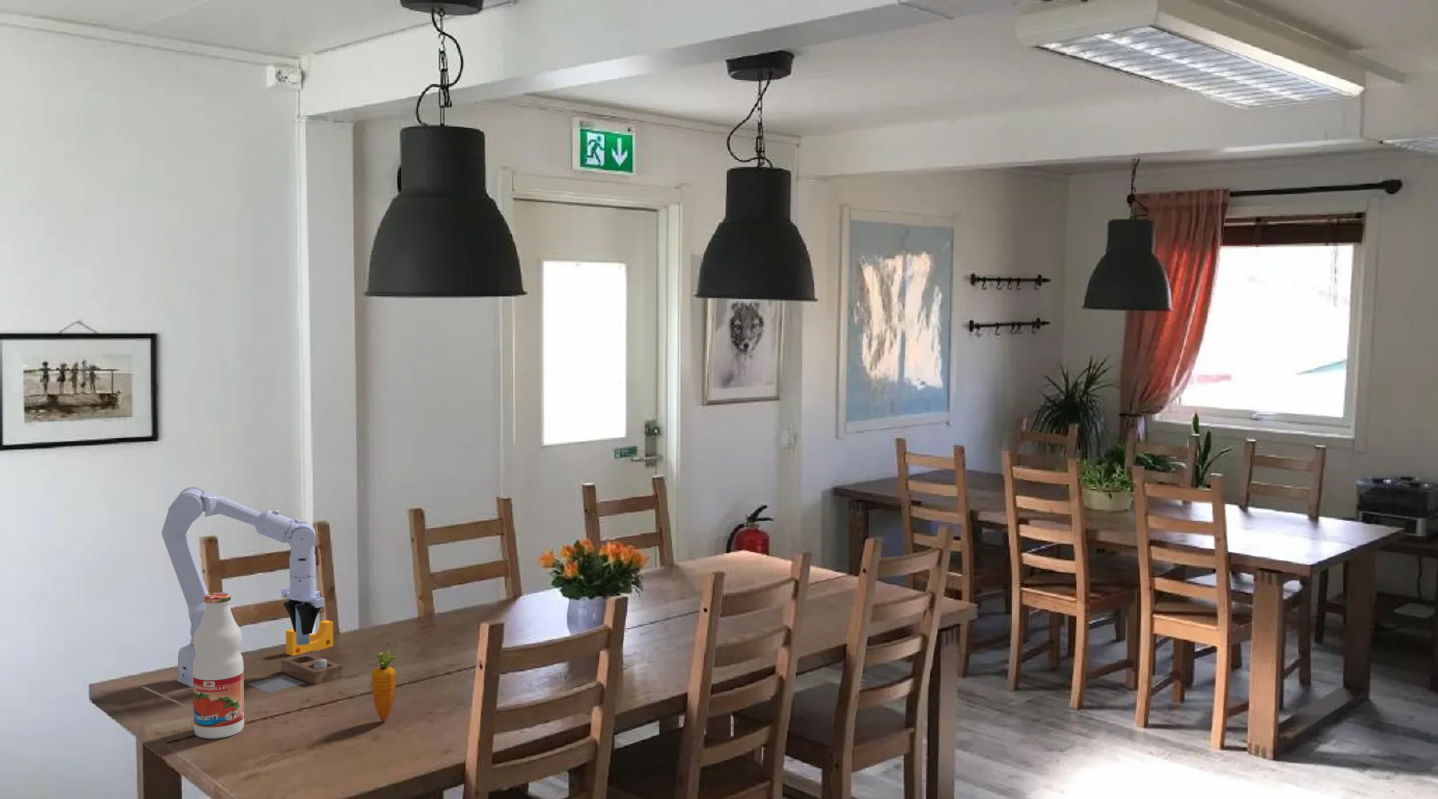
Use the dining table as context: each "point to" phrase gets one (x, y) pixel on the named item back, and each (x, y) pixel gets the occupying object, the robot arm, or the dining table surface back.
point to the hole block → (312, 668)
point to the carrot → (383, 686)
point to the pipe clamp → (311, 639)
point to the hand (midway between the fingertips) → (303, 632)
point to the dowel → (300, 631)
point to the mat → (276, 684)
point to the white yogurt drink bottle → (218, 671)
